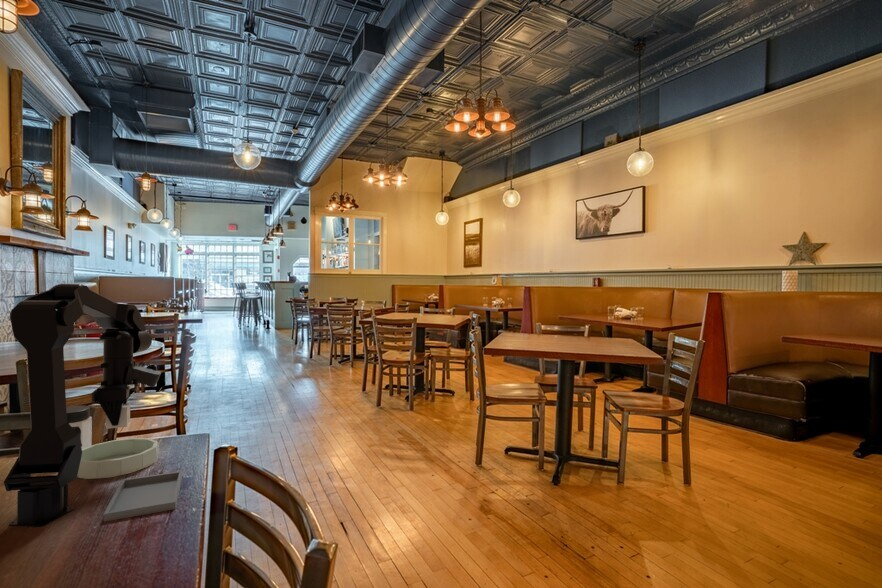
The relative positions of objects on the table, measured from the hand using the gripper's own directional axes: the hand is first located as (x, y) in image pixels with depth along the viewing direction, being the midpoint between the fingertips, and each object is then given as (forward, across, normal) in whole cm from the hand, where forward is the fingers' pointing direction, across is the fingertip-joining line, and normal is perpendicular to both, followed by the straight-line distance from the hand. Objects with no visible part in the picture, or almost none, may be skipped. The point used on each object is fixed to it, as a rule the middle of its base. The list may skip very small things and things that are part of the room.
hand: (117, 423), depth 104 cm
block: (+1, 0, 0) cm, 1 cm away
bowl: (+10, 0, 0) cm, 10 cm away
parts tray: (+10, -22, -9) cm, 26 cm away
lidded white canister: (+10, +12, +12) cm, 20 cm away
